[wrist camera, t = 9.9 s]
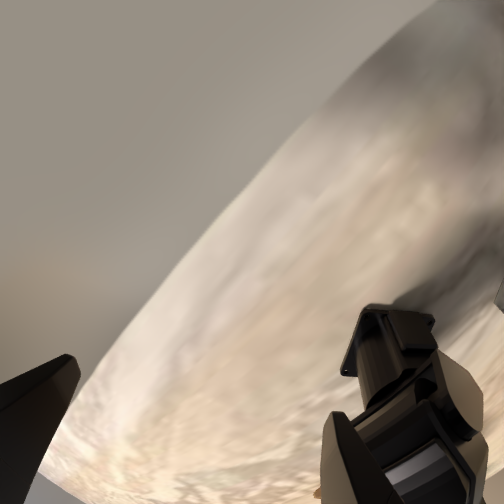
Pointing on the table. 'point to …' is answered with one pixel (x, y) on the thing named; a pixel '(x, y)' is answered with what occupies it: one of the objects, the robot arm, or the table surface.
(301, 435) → the table surface
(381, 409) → the robot arm
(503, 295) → the egg carton
